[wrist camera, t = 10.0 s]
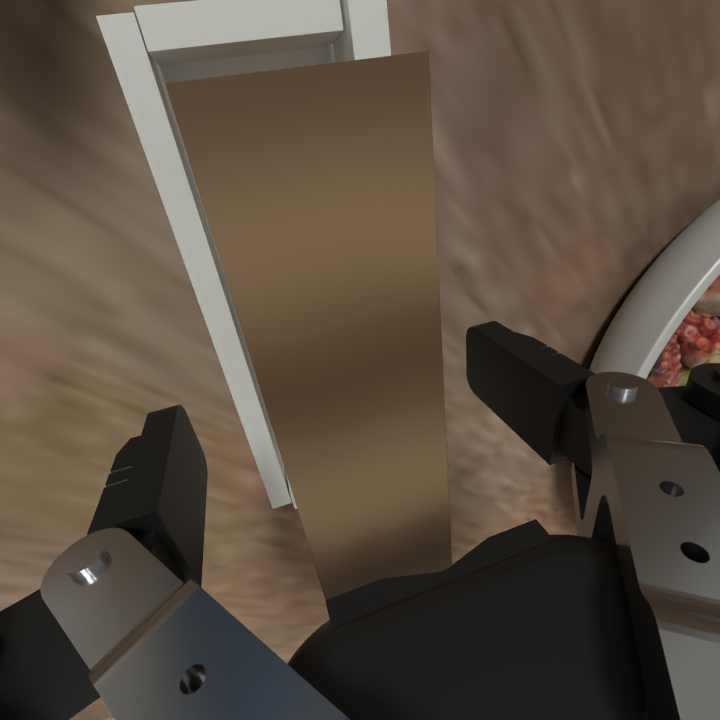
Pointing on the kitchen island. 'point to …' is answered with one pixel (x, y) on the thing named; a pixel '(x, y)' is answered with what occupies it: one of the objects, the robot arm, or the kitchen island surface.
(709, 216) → the bowl
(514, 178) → the kitchen island surface
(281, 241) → the oak frame
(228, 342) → the frame
